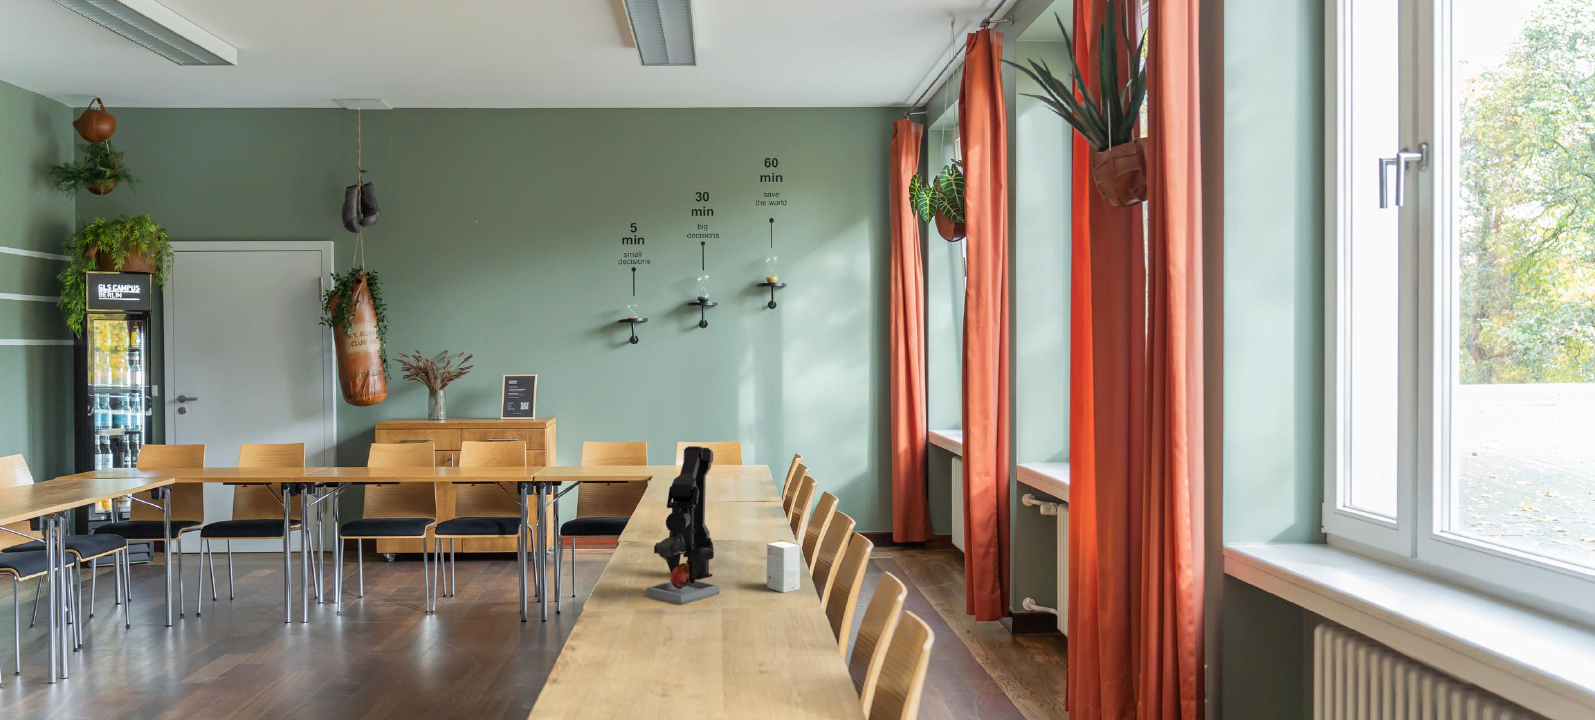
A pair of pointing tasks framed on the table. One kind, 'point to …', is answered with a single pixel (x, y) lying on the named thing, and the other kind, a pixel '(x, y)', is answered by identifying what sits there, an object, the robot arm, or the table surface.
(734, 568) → the table surface
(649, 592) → the tray
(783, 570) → the small box
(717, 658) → the table surface
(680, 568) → the pomegranate
